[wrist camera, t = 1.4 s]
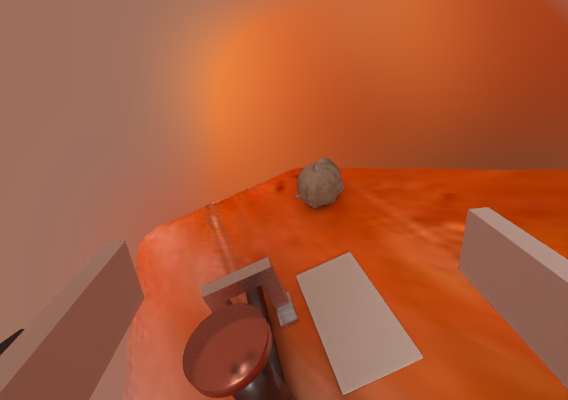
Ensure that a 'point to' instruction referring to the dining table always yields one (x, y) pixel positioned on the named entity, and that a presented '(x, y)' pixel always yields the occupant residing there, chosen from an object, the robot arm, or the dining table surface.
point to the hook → (236, 353)
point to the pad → (355, 323)
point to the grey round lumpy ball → (319, 183)
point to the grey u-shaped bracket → (245, 280)
